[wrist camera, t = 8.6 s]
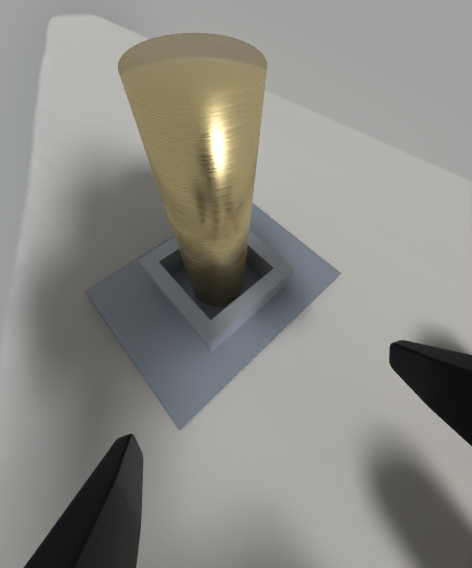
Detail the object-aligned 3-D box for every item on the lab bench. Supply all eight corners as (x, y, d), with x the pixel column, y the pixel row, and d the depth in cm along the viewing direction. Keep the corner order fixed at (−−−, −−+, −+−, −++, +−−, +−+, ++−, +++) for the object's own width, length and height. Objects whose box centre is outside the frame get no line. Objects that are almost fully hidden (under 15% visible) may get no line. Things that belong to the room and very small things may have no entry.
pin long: (231, 314, 17) (234, 114, 5) (182, 295, 17) (84, 77, 6) (250, 270, 18) (284, 47, 7) (205, 254, 19) (166, 25, 7)
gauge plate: (181, 429, 14) (169, 436, 11) (89, 294, 18) (63, 274, 15) (337, 276, 19) (356, 255, 16) (240, 198, 23) (242, 170, 20)
